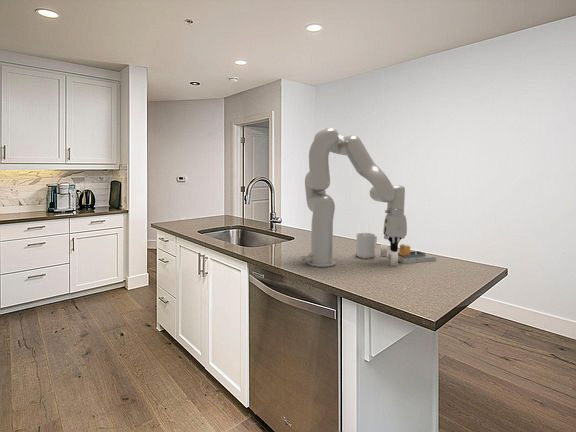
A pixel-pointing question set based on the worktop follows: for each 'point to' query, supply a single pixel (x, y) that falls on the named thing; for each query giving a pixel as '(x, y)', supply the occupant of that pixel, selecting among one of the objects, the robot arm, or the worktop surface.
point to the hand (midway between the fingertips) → (393, 251)
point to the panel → (414, 257)
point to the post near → (394, 259)
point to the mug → (366, 245)
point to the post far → (384, 250)
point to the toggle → (404, 249)
